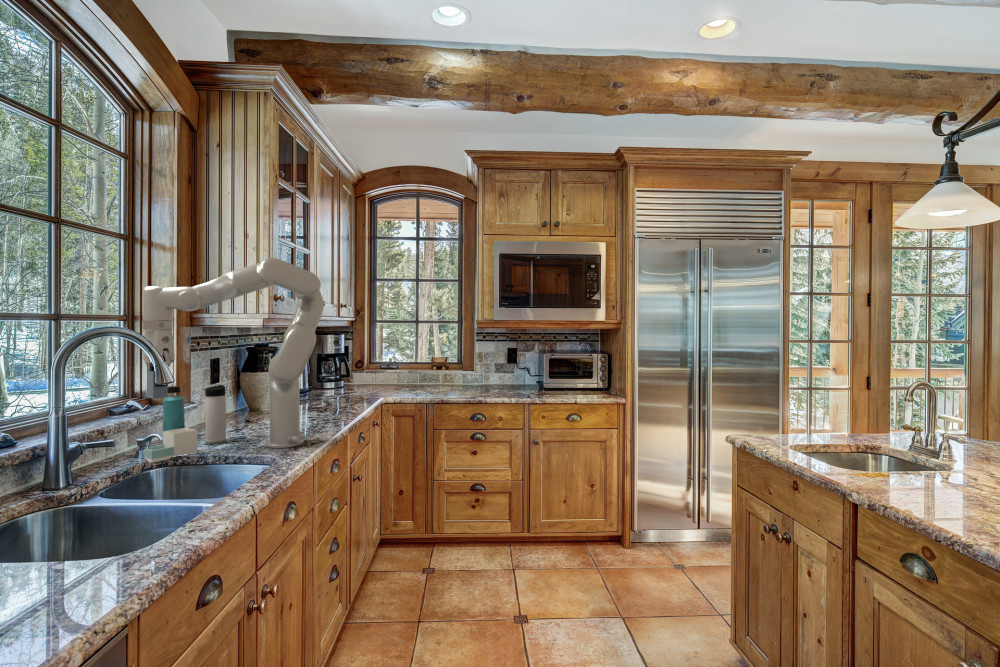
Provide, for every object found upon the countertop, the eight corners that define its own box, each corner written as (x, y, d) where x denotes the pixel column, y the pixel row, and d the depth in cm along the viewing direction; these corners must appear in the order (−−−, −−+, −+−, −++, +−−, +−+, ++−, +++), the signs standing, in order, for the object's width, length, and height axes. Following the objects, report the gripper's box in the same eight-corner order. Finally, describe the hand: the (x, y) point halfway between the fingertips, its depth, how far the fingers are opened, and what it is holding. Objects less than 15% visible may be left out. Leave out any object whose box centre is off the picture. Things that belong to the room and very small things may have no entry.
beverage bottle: (182, 444, 168) (182, 387, 167) (160, 446, 165) (159, 387, 165) (187, 440, 174) (186, 385, 173) (165, 442, 171) (164, 385, 171)
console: (197, 453, 156) (197, 430, 156) (151, 462, 145) (151, 437, 145) (186, 450, 159) (186, 427, 159) (141, 459, 148) (140, 435, 148)
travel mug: (230, 440, 173) (230, 385, 173) (218, 445, 166) (217, 387, 166) (214, 440, 174) (213, 384, 173) (201, 444, 167) (200, 387, 167)
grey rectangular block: (167, 397, 150) (167, 371, 150) (153, 398, 146) (153, 372, 146) (161, 396, 152) (161, 370, 152) (146, 397, 148) (147, 371, 148)
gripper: (184, 326, 148) (184, 386, 148) (158, 326, 157) (158, 383, 157) (157, 326, 141) (157, 388, 142) (131, 326, 150) (131, 385, 150)
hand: (157, 385), depth 149 cm, fingers closed on grey rectangular block, 4 cm apart
